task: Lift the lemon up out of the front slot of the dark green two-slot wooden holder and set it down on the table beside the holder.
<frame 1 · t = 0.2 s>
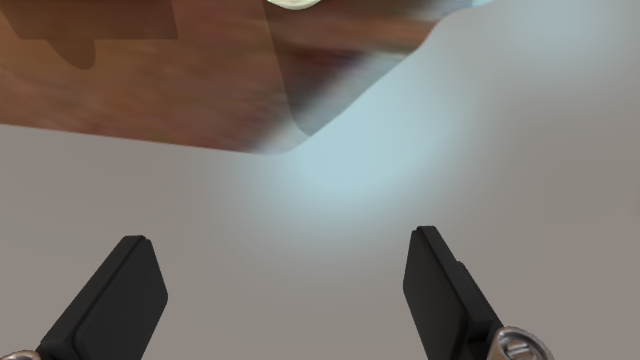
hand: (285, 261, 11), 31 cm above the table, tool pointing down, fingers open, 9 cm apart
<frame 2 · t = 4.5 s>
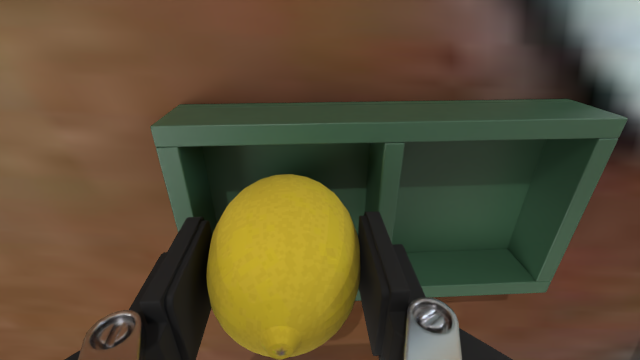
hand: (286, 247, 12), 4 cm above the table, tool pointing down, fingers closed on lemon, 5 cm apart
lemon: (289, 195, 16), resting on holder, touching gripper
holder: (371, 190, 16), on the table
when the fingers open (4 cm above the table, at t = 11.1 s): lemon stays where it is, on the table.
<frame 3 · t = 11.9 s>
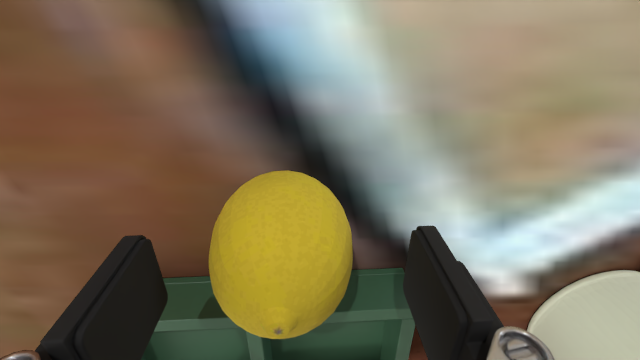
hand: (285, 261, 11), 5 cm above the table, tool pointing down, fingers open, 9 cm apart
lemon: (286, 192, 16), on the table
holder: (264, 325, 21), on the table
can: (588, 315, 23), on the table
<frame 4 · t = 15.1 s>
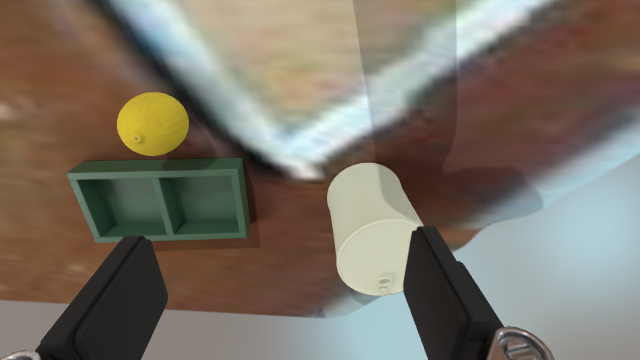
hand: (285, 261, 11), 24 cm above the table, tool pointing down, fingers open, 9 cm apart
lemon: (171, 111, 33), on the table
holder: (172, 194, 37), on the table
can: (363, 195, 39), on the table
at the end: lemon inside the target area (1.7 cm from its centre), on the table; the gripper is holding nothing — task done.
